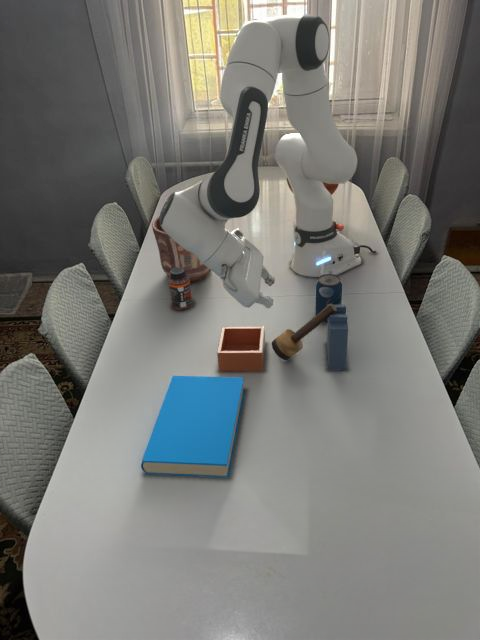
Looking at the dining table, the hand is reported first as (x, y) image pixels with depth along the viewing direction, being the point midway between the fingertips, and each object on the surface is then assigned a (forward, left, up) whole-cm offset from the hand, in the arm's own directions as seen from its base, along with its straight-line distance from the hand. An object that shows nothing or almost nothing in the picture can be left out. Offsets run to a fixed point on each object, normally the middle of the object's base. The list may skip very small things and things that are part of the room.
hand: (272, 293), depth 115 cm
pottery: (+3, -51, -19) cm, 54 cm away
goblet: (-52, -68, -19) cm, 88 cm away
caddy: (+7, -4, -18) cm, 20 cm away
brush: (-6, +4, -18) cm, 20 cm away
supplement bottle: (+12, -35, -19) cm, 41 cm away
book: (+26, +13, -18) cm, 34 cm away
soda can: (-20, -8, -18) cm, 29 cm away
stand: (-13, +7, -18) cm, 24 cm away
